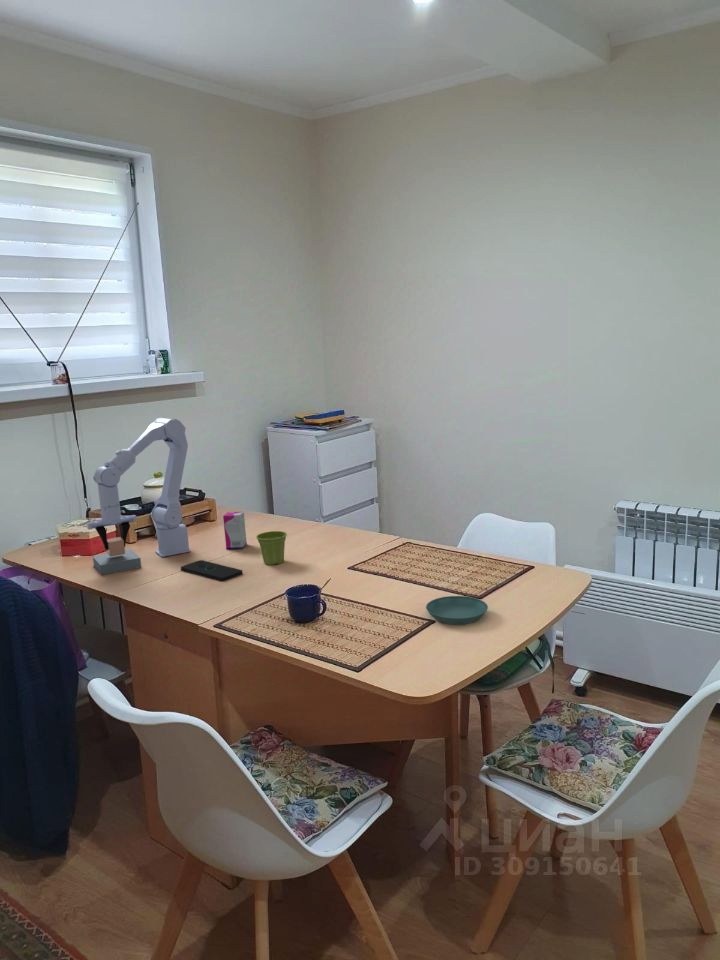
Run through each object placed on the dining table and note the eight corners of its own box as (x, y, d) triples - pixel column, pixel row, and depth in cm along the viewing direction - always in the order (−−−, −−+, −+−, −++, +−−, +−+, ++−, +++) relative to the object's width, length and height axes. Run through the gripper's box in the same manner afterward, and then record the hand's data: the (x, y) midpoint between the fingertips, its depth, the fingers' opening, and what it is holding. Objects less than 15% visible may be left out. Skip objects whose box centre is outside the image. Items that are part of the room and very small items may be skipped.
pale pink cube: (121, 550, 239) (120, 536, 238) (125, 553, 235) (123, 539, 234) (107, 553, 236) (105, 539, 235) (110, 556, 233) (108, 542, 232)
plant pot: (252, 565, 230) (250, 538, 228) (267, 556, 238) (265, 530, 237) (279, 567, 226) (277, 540, 225) (294, 558, 235) (292, 531, 233)
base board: (132, 558, 245) (131, 549, 244) (141, 567, 234) (140, 557, 234) (93, 565, 239) (92, 556, 238) (101, 574, 229) (100, 565, 228)
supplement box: (247, 544, 254) (244, 510, 252) (242, 549, 248) (240, 515, 246) (230, 544, 255) (227, 511, 252) (225, 549, 249) (222, 515, 247)
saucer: (445, 633, 172) (445, 622, 172) (415, 612, 186) (415, 602, 185) (500, 620, 178) (500, 610, 178) (467, 601, 191) (466, 591, 191)
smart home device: (201, 559, 235) (243, 569, 222) (201, 564, 235) (244, 575, 223) (179, 566, 229) (221, 577, 216) (179, 571, 229) (222, 583, 216)
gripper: (87, 511, 226) (93, 555, 229) (136, 503, 233) (141, 546, 236) (83, 507, 232) (89, 549, 235) (131, 500, 239) (136, 541, 242)
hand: (115, 547), depth 235 cm, fingers closed on pale pink cube, 4 cm apart
